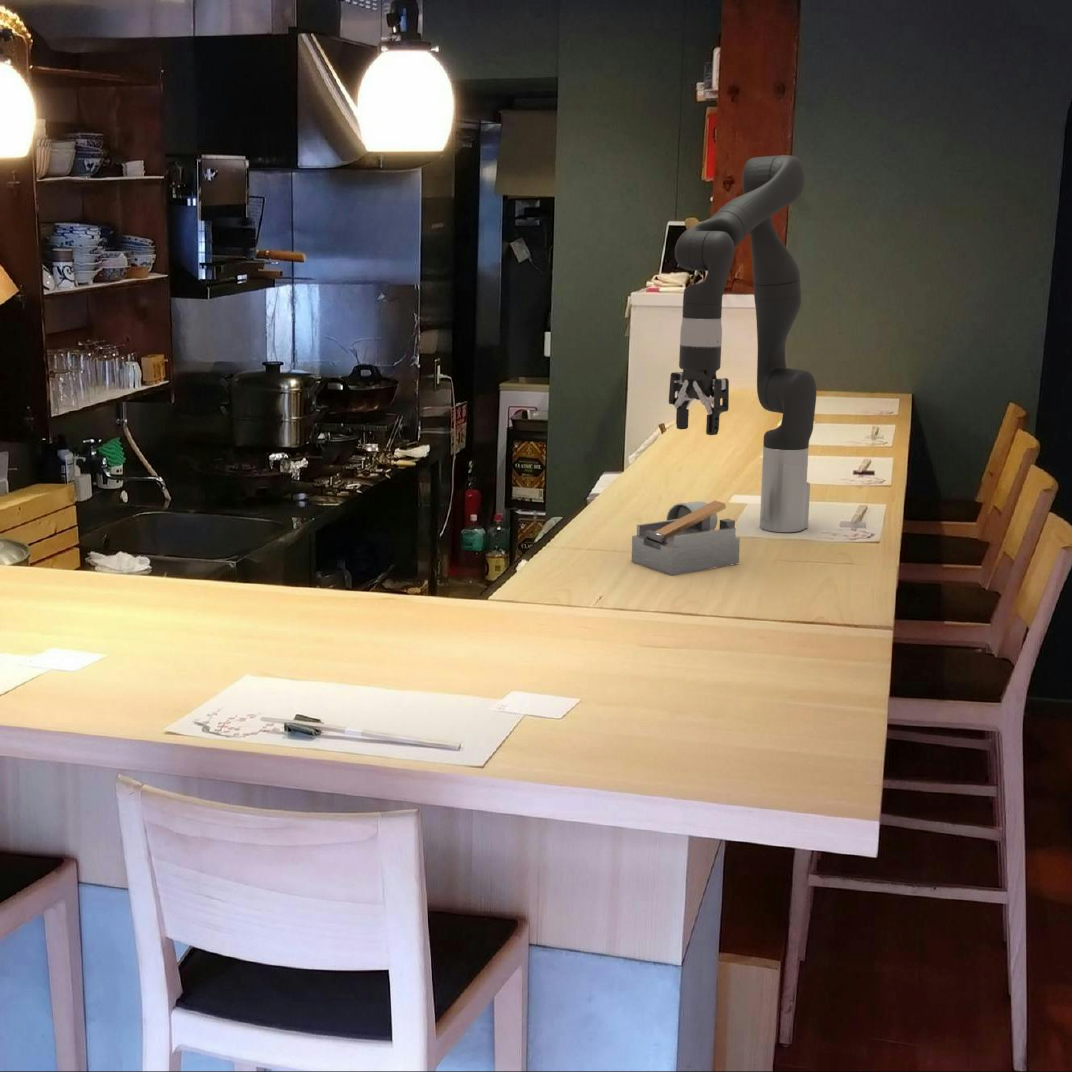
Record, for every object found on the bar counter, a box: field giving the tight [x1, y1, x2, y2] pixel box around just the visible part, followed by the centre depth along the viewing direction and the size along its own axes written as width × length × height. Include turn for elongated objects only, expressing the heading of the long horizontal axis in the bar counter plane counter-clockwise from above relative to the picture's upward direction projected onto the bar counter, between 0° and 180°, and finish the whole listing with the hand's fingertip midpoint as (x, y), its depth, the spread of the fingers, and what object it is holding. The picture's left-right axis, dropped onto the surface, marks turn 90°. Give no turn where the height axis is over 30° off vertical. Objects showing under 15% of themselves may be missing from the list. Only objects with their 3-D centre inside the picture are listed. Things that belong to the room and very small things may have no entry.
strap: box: [645, 500, 727, 543], centre depth 251 cm, size 17×4×2 cm, turn 123°
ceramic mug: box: [666, 501, 718, 530], centre depth 273 cm, size 11×8×8 cm
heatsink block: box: [631, 517, 741, 576], centre depth 252 cm, size 16×12×8 cm
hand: (696, 431), depth 248 cm, fingers open, 8 cm apart
